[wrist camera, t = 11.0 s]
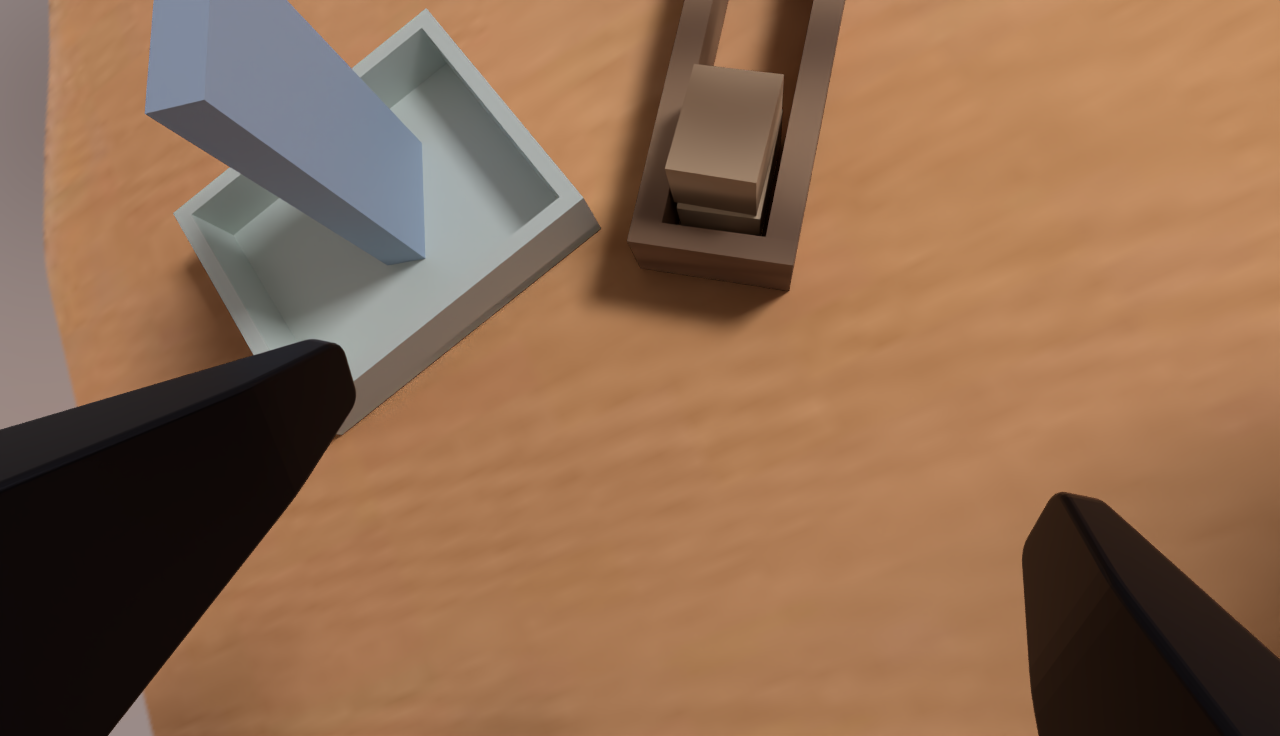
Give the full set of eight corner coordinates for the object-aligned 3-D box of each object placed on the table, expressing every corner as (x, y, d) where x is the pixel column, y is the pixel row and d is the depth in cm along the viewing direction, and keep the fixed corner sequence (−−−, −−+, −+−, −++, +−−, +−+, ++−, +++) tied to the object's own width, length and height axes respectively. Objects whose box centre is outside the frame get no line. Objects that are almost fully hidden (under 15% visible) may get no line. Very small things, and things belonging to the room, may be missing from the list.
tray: (341, 434, 24) (295, 427, 21) (225, 239, 27) (172, 213, 24) (601, 228, 24) (583, 197, 21) (456, 52, 26) (426, 8, 24)
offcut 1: (756, 216, 20) (756, 183, 18) (673, 201, 21) (664, 168, 19) (781, 117, 21) (784, 74, 19) (699, 106, 22) (694, 63, 19)
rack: (788, 291, 22) (792, 265, 19) (640, 268, 23) (626, 241, 20) (858, -67, 24) (869, -130, 22) (719, -71, 25) (715, -131, 23)
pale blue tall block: (425, 258, 24) (204, 99, 14) (387, 265, 24) (144, 113, 15) (421, 142, 25) (214, -77, 15) (385, 150, 25) (158, -61, 16)
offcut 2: (759, 245, 22) (760, 219, 20) (684, 234, 23) (676, 208, 21) (780, 145, 23) (782, 109, 21) (706, 137, 24) (701, 101, 22)
